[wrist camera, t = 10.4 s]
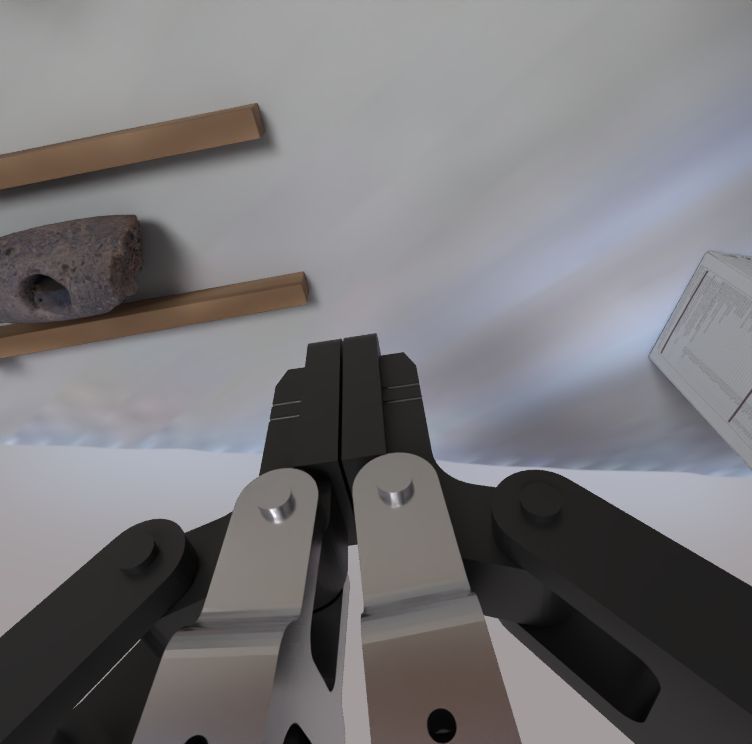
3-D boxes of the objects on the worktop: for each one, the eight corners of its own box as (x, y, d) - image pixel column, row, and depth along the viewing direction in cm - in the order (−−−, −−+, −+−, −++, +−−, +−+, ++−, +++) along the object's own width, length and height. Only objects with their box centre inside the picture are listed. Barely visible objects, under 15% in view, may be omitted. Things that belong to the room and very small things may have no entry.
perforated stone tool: (-26, 304, 35) (-99, 360, 29) (-77, 232, 31) (-169, 278, 26) (182, 273, 34) (149, 323, 28) (151, 196, 31) (108, 235, 25)
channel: (-148, 184, 30) (-201, 202, 27) (257, 102, 28) (246, 112, 25) (-21, 349, 36) (-52, 377, 34) (308, 290, 35) (305, 314, 32)
